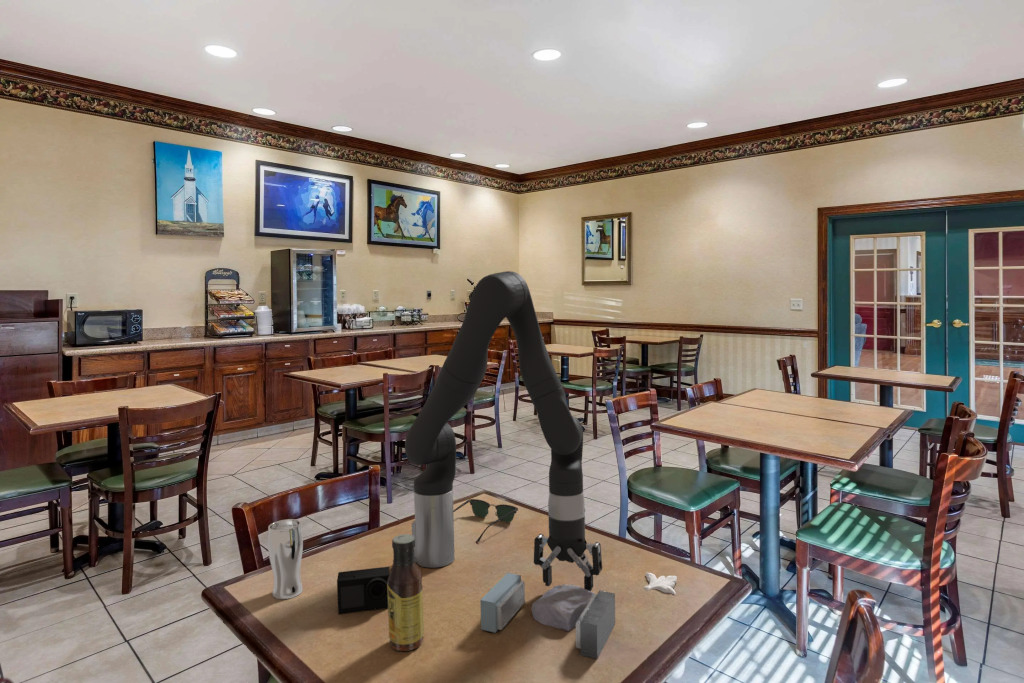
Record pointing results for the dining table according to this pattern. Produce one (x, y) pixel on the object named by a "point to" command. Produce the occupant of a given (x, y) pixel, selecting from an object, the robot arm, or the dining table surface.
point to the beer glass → (286, 557)
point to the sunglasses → (481, 510)
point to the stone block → (561, 606)
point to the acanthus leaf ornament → (661, 583)
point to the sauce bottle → (405, 596)
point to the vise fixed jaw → (595, 624)
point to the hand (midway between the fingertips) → (567, 588)
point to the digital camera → (362, 590)
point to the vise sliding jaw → (502, 602)
